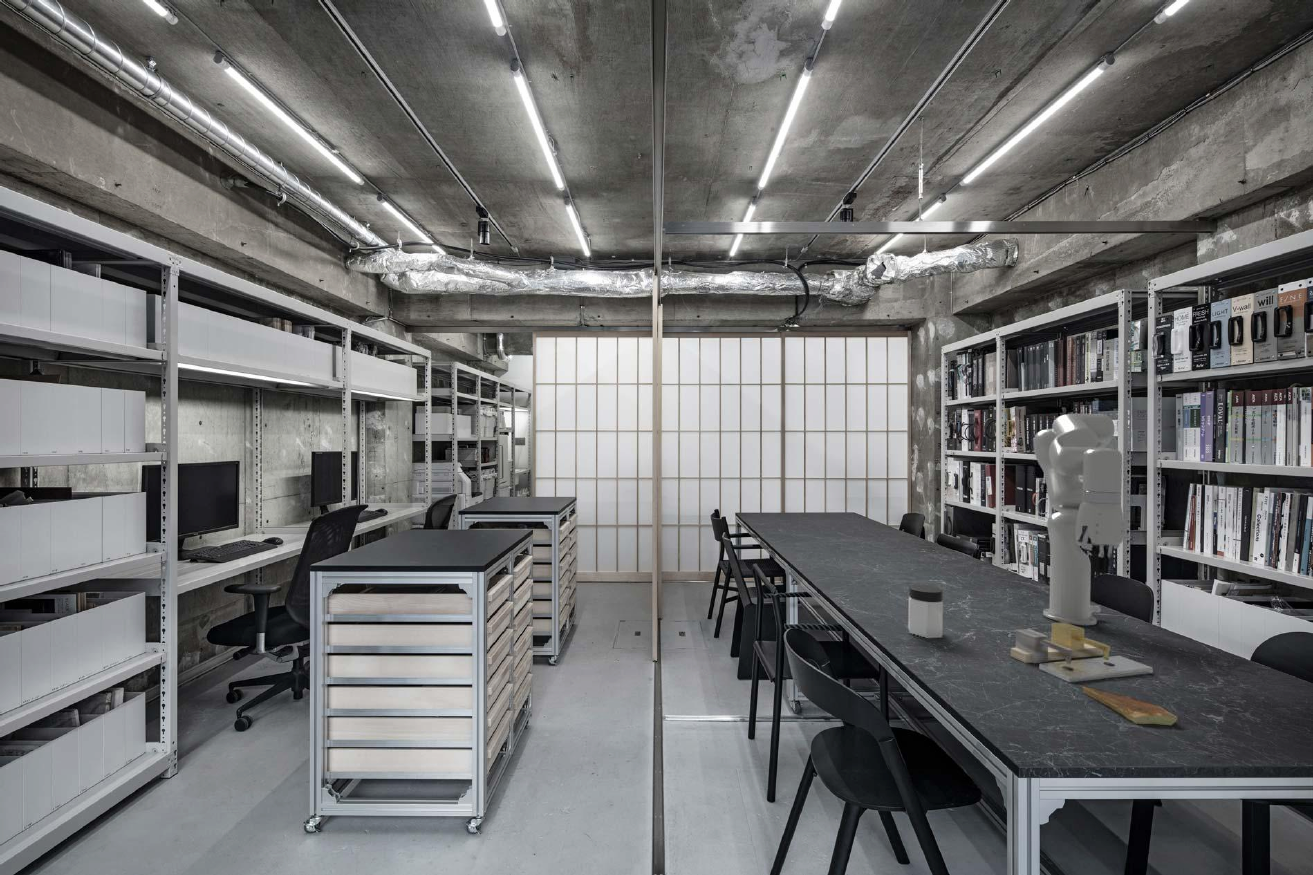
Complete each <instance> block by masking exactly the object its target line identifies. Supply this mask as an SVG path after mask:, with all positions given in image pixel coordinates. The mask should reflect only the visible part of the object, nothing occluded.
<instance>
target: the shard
mask: <svg viewBox="0 0 1313 875" xmlns="http://www.w3.org/2000/svg"><path fill="white" fill-rule="evenodd" d="M1080 686H1081V688H1082V689H1083V694H1085V695H1087V696H1089V697H1091V699H1092V698H1093V699H1095V700H1096V701H1097V702H1100V703H1102V704H1103V705H1105V706H1107V707H1109V708H1110V709H1111V710H1113V711H1115V712H1116V713H1118V714H1120V715H1121V716H1123V717H1124V718H1126V719H1127V720H1128V721H1131V722H1132V723H1134V724H1139V725H1140V724H1144V725H1145V724H1146V725H1150V724H1152V725H1153V724H1154V725H1163V726H1166V725H1167V726H1173V725H1174V724H1175V723H1176V722H1177V721H1178V716H1177V715H1174V714H1173V713H1172V712H1169V711H1167V710H1165V709H1164V708H1162V706H1160V705H1158V704H1154V703H1151V702H1148V701H1146V700H1140V699H1137V698H1134V697H1131V696H1127V695H1123V694H1119V693H1116V692H1111V691H1108V690H1103V689H1099V688H1095V687H1091V686H1089V685H1084V684H1080Z"/></svg>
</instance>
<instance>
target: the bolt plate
mask: <svg viewBox="0 0 1313 875" xmlns="http://www.w3.org/2000/svg"><path fill="white" fill-rule="evenodd" d="M1038 664H1039V667H1038V668H1039V670H1040V671H1043V672H1045V673H1047V674H1049V675H1051V676H1053V677H1056V678H1059V679H1061V680H1063V681H1066V682H1068V683H1075V682H1084V681H1093V680H1101V679H1110V678H1111V679H1113V678H1119V677H1128V676H1129V677H1130V676H1139V675H1146V674H1153V673H1154V672H1153V671H1154V670H1153V667H1152V666H1149V665H1147V664H1144V663H1142V662H1141V663H1140V662H1138V661H1135V660H1132V659H1129V658H1127V657H1124V656H1122V655H1113V656H1109V660H1106V659H1103V656H1101V657H1093V658H1084V659H1074V660H1072V659H1071V664H1068V663H1066V660H1064V661H1056V662H1055V661H1054V662H1053V661H1052V662H1042V663H1038Z"/></svg>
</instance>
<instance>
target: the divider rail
mask: <svg viewBox="0 0 1313 875" xmlns="http://www.w3.org/2000/svg"><path fill="white" fill-rule="evenodd" d="M1098 656H1101V657H1102V656H1103V650H1102V649H1099V648H1096V647H1093V646H1091V645H1088V644H1085V643H1084V649H1079V650H1072V649H1069V648H1066V647H1064V646H1061V645H1059V644H1056V643H1053V642H1051V640H1049V636H1048V635H1046V634H1044V633H1041V632H1038V631H1036V630H1032V629H1029V628H1026V629H1016V630H1015V647H1010V657H1011V658H1013V659H1016V660H1018V661H1020V662H1022V663H1024V664H1029V663H1033V664H1037V663H1038V664H1042V663H1049V662H1050V661H1057V660H1058V661H1059V660H1065V661H1066V663H1068V664H1071V661H1072V659H1077V658H1089V657H1098Z"/></svg>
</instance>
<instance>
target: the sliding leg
mask: <svg viewBox="0 0 1313 875" xmlns="http://www.w3.org/2000/svg"><path fill="white" fill-rule="evenodd" d="M1050 641H1051V642H1053V643H1056V644H1059V645H1061V646H1064V647H1066V648H1069V649H1072V650H1079V649H1084V643H1085V644H1088V645H1091V646H1093V647H1096V648H1099V649H1102V650H1103V655H1102V657H1103V659H1106V660H1109V657H1110V652H1111V646H1110V645H1108V644H1105V643H1103V642H1099V641H1097V640H1094V639H1090V638H1088V637H1085V628H1083V627H1080V626H1078V625H1074V624H1068V623H1065V622H1051V639H1050Z"/></svg>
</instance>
